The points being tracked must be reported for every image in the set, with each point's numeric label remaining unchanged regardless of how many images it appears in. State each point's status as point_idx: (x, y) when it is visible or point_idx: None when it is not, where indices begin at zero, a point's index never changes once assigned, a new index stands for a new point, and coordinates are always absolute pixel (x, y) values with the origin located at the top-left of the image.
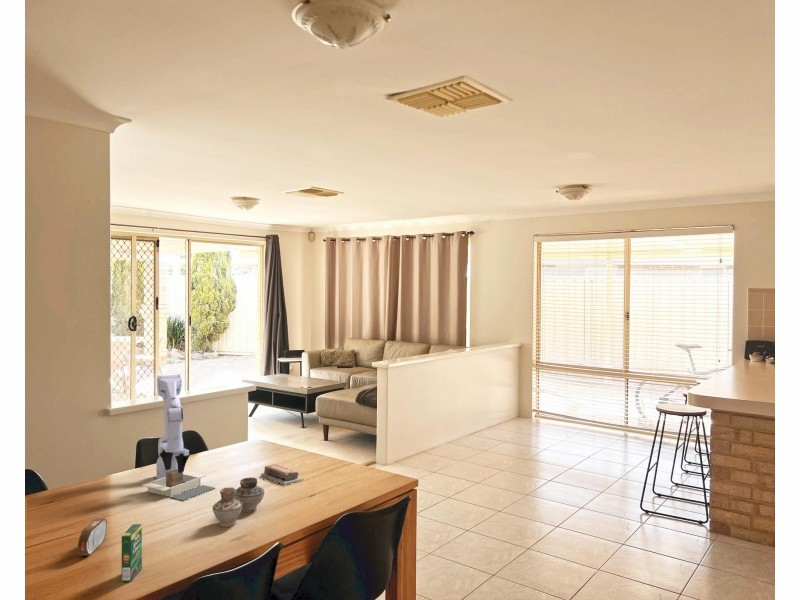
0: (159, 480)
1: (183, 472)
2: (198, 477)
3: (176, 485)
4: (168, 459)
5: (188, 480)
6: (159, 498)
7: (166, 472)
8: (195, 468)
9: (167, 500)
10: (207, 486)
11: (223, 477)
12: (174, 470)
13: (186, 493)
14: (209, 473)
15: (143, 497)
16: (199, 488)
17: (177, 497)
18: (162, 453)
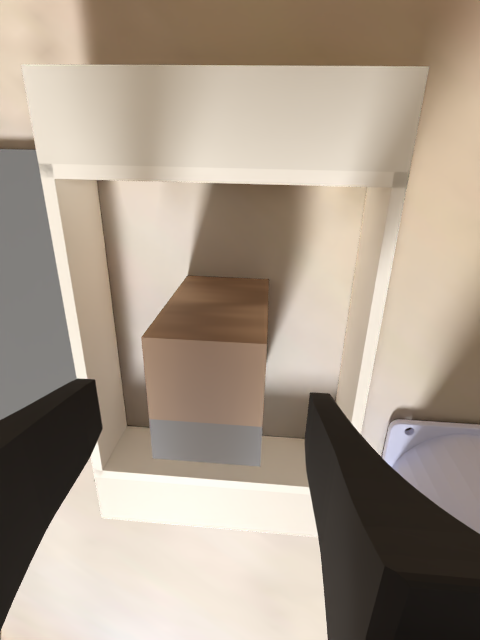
0: (366, 307)
1: (310, 510)
2: (104, 471)
3: (66, 256)
4: (331, 535)
5: None
6: None
7: (261, 346)
8: None
9: None
10: None
11: (135, 567)
12: (236, 430)
13: (34, 274)
14: (262, 588)
15: (291, 18)
16: (57, 387)
17: (3, 171)
18: (462, 631)
